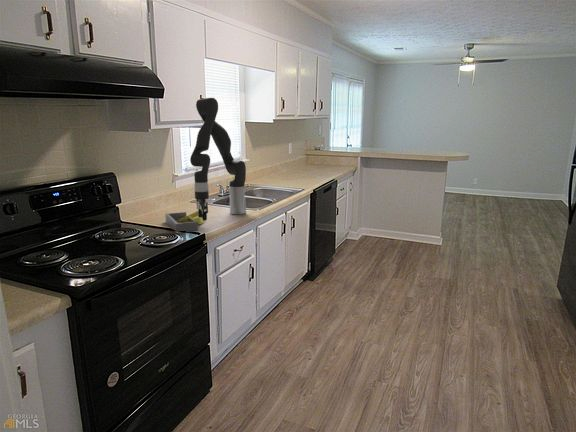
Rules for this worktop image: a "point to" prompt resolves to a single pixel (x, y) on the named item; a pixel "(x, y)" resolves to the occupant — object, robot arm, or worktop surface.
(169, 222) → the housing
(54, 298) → the worktop surface
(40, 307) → the worktop surface
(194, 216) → the plastic component
